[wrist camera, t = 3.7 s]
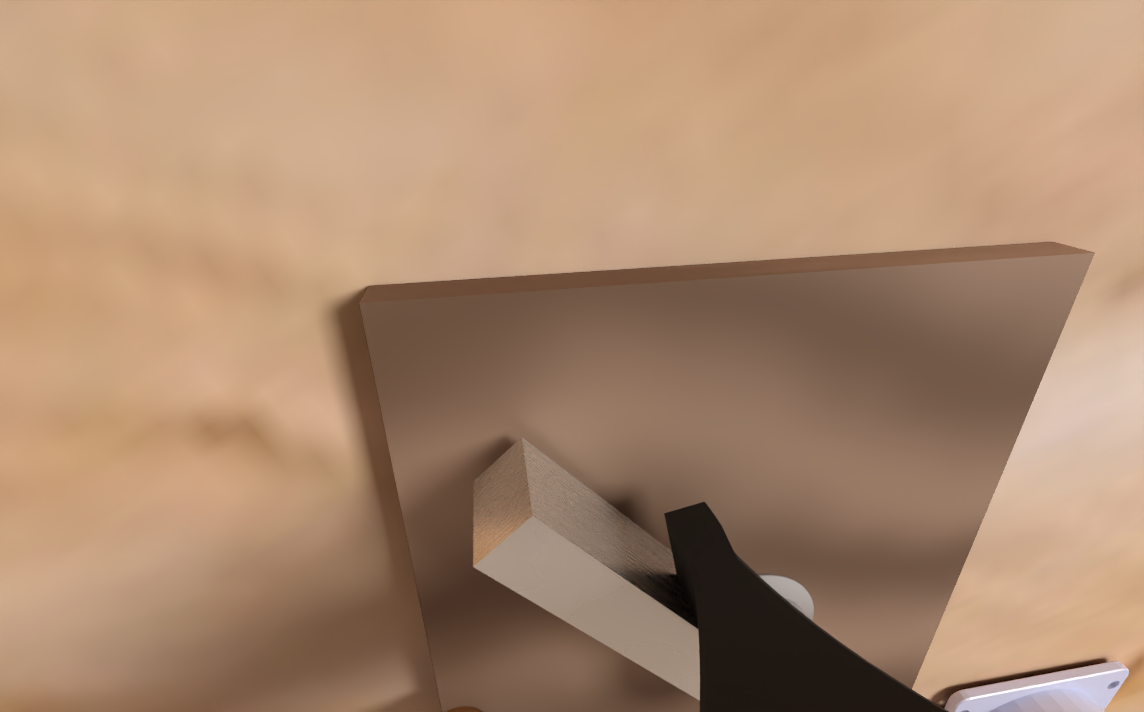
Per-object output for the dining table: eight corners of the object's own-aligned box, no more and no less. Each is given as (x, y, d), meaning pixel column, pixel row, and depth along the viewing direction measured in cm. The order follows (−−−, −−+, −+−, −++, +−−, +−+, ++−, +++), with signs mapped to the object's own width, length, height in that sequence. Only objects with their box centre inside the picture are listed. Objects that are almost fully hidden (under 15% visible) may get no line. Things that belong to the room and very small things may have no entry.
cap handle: (827, 629, 16) (881, 710, 14) (734, 694, 17) (771, 781, 15) (557, 405, 11) (576, 478, 9) (441, 510, 12) (433, 600, 10)
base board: (884, 682, 21) (952, 780, 18) (453, 760, 18) (449, 887, 16) (1053, 241, 13) (1218, 284, 10) (358, 286, 11) (314, 358, 8)
